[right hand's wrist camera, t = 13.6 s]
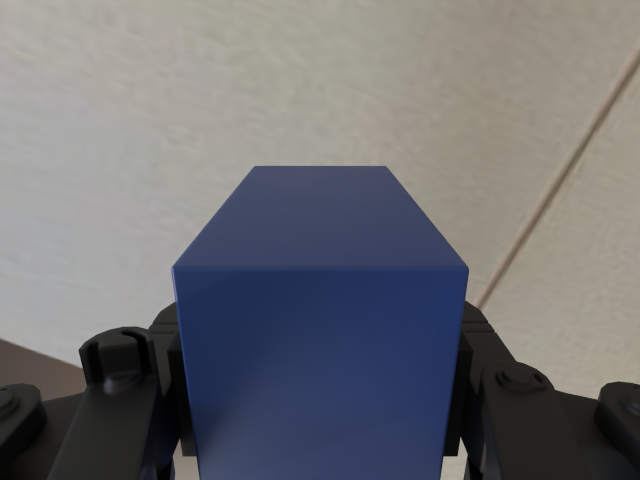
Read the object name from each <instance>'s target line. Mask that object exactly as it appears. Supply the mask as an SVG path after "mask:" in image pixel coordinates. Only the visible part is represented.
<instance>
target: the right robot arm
mask: <svg viewBox="0 0 640 480" xmlns="http://www.w3.org/2000/svg"><path fill="white" fill-rule="evenodd" d="M79 354H80V358H81V362H82V366H83V371H84V375H85V379H86V383H87V387H86V390H85V392H83V393H80V394H76V395H72V396H67V397H62V398H58V399H53V400H48V401H43V400H42V396H41V393H40V390H39V389H38V388H36V387H35V386H34V385H29V384H23V383H22V384H13V385H6V386H2V387H0V480H174V479H175V469H174V462H173V454H174V451H175V449H176V446H177V444H178V441H179V439H180V441H181V448H182V454H183V456H197V455H196V448H195V441H194V433H193V426H192V418H191V411H190V404H189V396H188V389H187V382H186V374H185V367H184V360H183V352H182V345H181V338H180V330H179V323H178V315H177V308H176V302H174V303H172V304H171V305H170V306H168V307H167V308H165V309H164V310H162V311H161V312H160V313H159V314H158V316H157V317H156V319H155V320H154V321H153V324H152V325H151V326H150V327H149V329H148V330H147V329H144V328H140V327H120V328H116V329H111V330H108V331H105V332H103V333H100V334H97V335H96V336H94V337H92V338H91V339H89V340H88V341H86V342H85V343H84V344H83V345H82V346H81V348H80V349H79ZM460 436H461V438H462V441H463V443H464V446H465V448H466V451H467V453H468V456H467V462H466V468H465V474H464V480H640V385H638V384H634V383H626V382H613V383H607V384H606V385H605V386H604V387H602V388H601V391H600V394H599V397H598V400H596V399H591V398H587V397H582V396H577V395H572V394H568V393H564V392H560V391H557V390H555V389H554V387H553V385H552V383H551V382H550V381H549V379H548V378H547V377H546V376H545V375H544V374H542V373H541V372H540V371H538V370H537V369H535V368H533V367H531V366H528V365H526V364H524V363H520V362H516V360H515V359H514V357H513V356H512V355H511V353H510V352H509V350H508V349H507V347H506V346H505V345H504V343H503V342H502V340H501V339H500V338H499V336H498V335H497V333H495V332H494V329H493V328H492V326H491V325H490V324H488V321H487V319H486V318H485V316H484V315H483V314H482V312H481V311H480V310H479V309H477V308H476V307H474V306H473V305H471V304H470V303H469V302H467V301H465V303H464V311H463V318H462V325H461V332H460V340H459V347H458V354H457V361H456V369H455V376H454V383H453V390H452V397H451V405H450V412H449V419H448V426H447V434H446V441H445V448H444V455H443V456H458V449H459V443H460Z"/></svg>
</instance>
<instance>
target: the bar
mask: <svg viewBox="0 0 640 480" xmlns="http://www.w3.org/2000/svg"><path fill="white" fill-rule="evenodd" d="M171 271H172V279H173V286H174V293H175V301H176V308H177V315H178V323H179V330H180V338H181V345H182V352H183V360H184V367H185V374H186V382H187V389H188V396H189V404H190V411H191V418H192V426H193V433H194V441H195V448H196V455H197V463H198V470H199V477H200V480H440V477H441V470H442V463H443V455H444V448H445V441H446V434H447V426H448V419H449V412H450V405H451V397H452V390H453V383H454V376H455V369H456V361H457V354H458V347H459V340H460V332H461V325H462V318H463V311H464V303H465V296H466V289H467V282H468V274H469V268H468V266H467V265H466V264H465V263H464V261H463V260H462V259H461V258H460V256H459V255H458V254H457V253H456V252H455V250H454V249H453V248H452V247H451V245H450V244H449V243H448V242H447V240H446V239H445V238H444V237H443V236H442V234H441V233H440V232H439V231H438V229H437V228H436V227H435V226H434V224H433V223H432V222H431V221H430V220H429V218H428V217H427V216H426V215H425V213H424V212H423V211H422V210H421V208H420V207H419V206H418V205H417V203H416V202H415V201H414V200H413V199H412V197H411V196H410V195H409V194H408V192H407V191H406V190H405V189H404V187H403V186H402V185H401V184H400V183H399V181H398V180H397V179H396V178H395V176H394V175H393V174H392V173H391V171H390V170H389V169H388V168H387V167H386V166H254V167H253V168H252V170H251V171H250V172H249V173H248V175H247V176H246V177H245V178H244V180H243V181H242V182H241V183H240V184H239V186H238V187H237V188H236V189H235V191H234V192H233V193H232V194H231V195H230V197H229V198H228V199H227V200H226V202H225V203H224V204H223V205H222V206H221V208H220V209H219V210H218V211H217V213H216V214H215V215H214V216H213V217H212V219H211V220H210V221H209V222H208V224H207V225H206V226H205V227H204V228H203V230H202V231H201V232H200V233H199V235H198V236H197V237H196V238H195V240H194V241H193V242H192V243H191V244H190V246H189V247H188V248H187V249H186V251H185V252H184V253H183V254H182V255H181V257H180V258H179V259H178V260H177V262H176V263H175V264H174V265H173V266H172V269H171Z"/></svg>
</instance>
